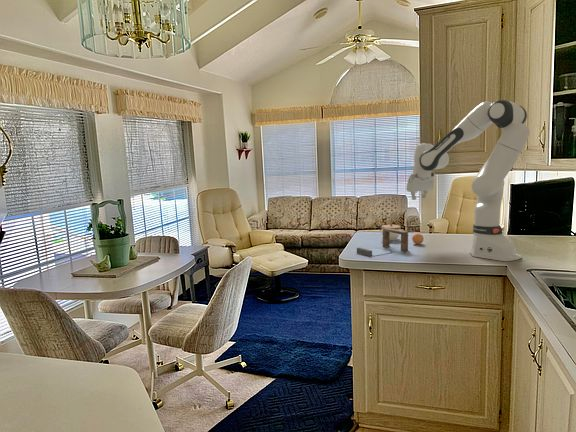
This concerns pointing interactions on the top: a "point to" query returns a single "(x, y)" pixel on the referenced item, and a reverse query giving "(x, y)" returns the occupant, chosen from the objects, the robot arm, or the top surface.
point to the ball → (417, 238)
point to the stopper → (364, 251)
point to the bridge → (403, 233)
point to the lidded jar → (392, 235)
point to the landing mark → (378, 252)
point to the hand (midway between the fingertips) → (418, 199)
